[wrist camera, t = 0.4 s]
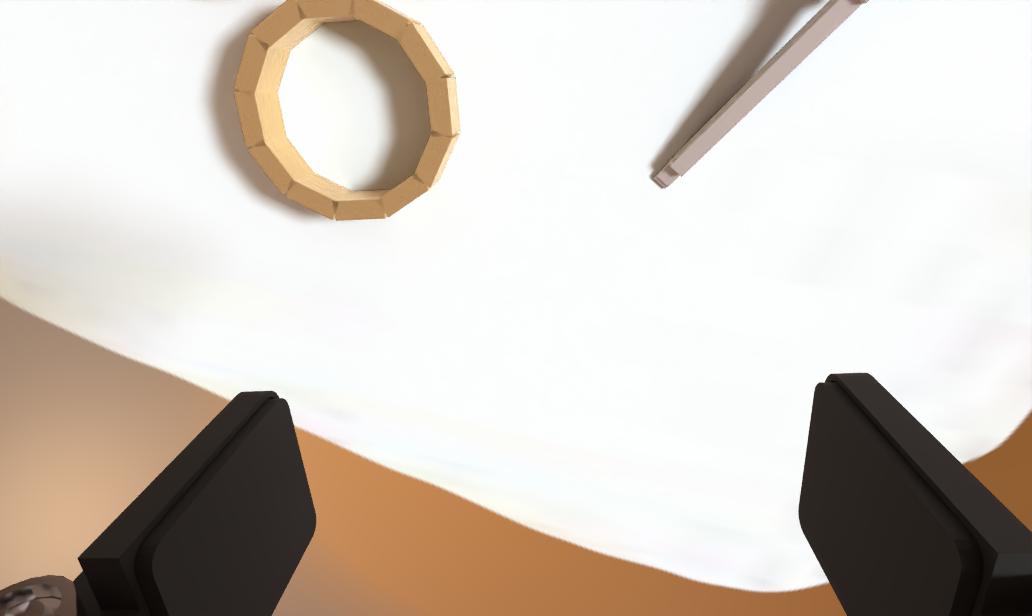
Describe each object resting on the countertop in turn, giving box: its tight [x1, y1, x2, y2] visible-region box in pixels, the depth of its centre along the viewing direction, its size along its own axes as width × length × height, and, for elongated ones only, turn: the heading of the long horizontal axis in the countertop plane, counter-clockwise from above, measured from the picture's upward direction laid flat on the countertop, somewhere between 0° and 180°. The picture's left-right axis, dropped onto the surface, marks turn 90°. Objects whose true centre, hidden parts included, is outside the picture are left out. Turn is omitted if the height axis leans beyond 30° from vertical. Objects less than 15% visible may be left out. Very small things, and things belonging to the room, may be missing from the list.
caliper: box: [653, 0, 869, 188], centre depth 31 cm, size 20×1×6 cm, turn 140°
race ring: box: [234, 0, 460, 221], centre depth 35 cm, size 12×12×3 cm
